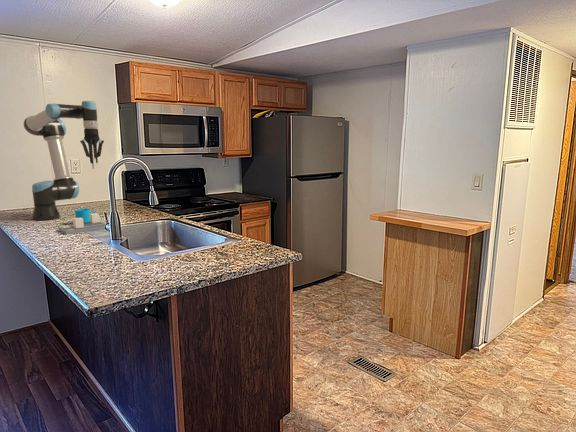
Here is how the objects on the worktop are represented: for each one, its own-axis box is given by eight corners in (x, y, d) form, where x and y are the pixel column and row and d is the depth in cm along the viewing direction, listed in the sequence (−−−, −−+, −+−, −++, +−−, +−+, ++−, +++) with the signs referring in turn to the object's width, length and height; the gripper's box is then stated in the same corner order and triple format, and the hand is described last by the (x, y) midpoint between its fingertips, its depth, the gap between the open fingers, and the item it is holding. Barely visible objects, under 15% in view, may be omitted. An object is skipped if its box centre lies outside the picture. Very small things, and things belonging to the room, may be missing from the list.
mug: (78, 225, 239) (77, 211, 238) (74, 223, 245) (73, 209, 244) (99, 222, 247) (98, 209, 246) (95, 220, 253) (94, 207, 252)
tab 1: (73, 227, 222) (72, 218, 221) (81, 226, 225) (80, 217, 224) (76, 228, 219) (75, 219, 218) (83, 227, 222) (83, 218, 221)
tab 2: (90, 222, 235) (89, 213, 234) (97, 221, 238) (96, 213, 237) (92, 223, 233) (91, 214, 232) (99, 222, 235) (99, 213, 234)
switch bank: (58, 230, 225) (57, 226, 225) (106, 223, 243) (105, 219, 242) (66, 234, 215) (65, 230, 215) (115, 227, 233) (115, 223, 233)
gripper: (81, 128, 231) (85, 169, 235) (104, 128, 239) (108, 168, 244) (76, 128, 236) (80, 169, 240) (100, 128, 245) (103, 167, 249)
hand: (94, 168), depth 242 cm, fingers closed
